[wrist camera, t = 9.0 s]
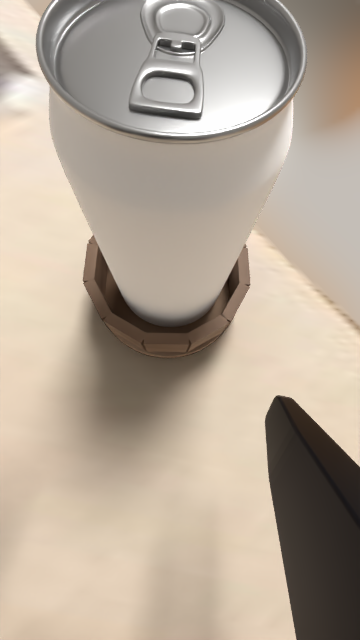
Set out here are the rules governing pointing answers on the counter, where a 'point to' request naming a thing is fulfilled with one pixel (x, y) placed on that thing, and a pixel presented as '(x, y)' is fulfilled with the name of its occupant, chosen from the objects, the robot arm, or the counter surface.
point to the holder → (153, 336)
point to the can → (171, 134)
